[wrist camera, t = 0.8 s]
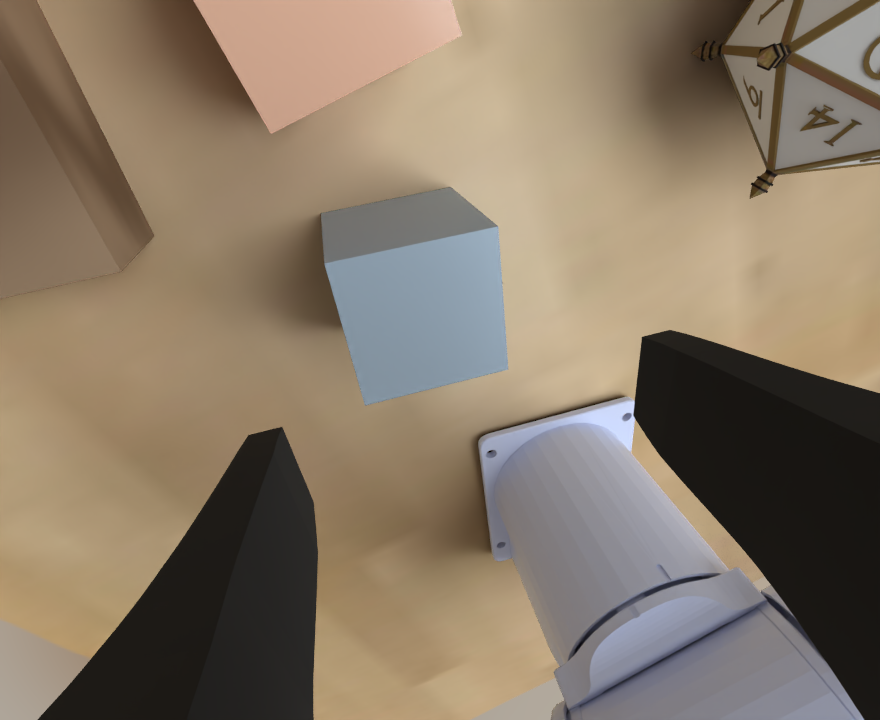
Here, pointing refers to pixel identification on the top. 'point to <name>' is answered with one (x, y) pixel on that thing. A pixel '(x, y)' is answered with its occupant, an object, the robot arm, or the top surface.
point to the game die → (806, 82)
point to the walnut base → (55, 168)
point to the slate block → (417, 292)
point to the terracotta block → (321, 46)
